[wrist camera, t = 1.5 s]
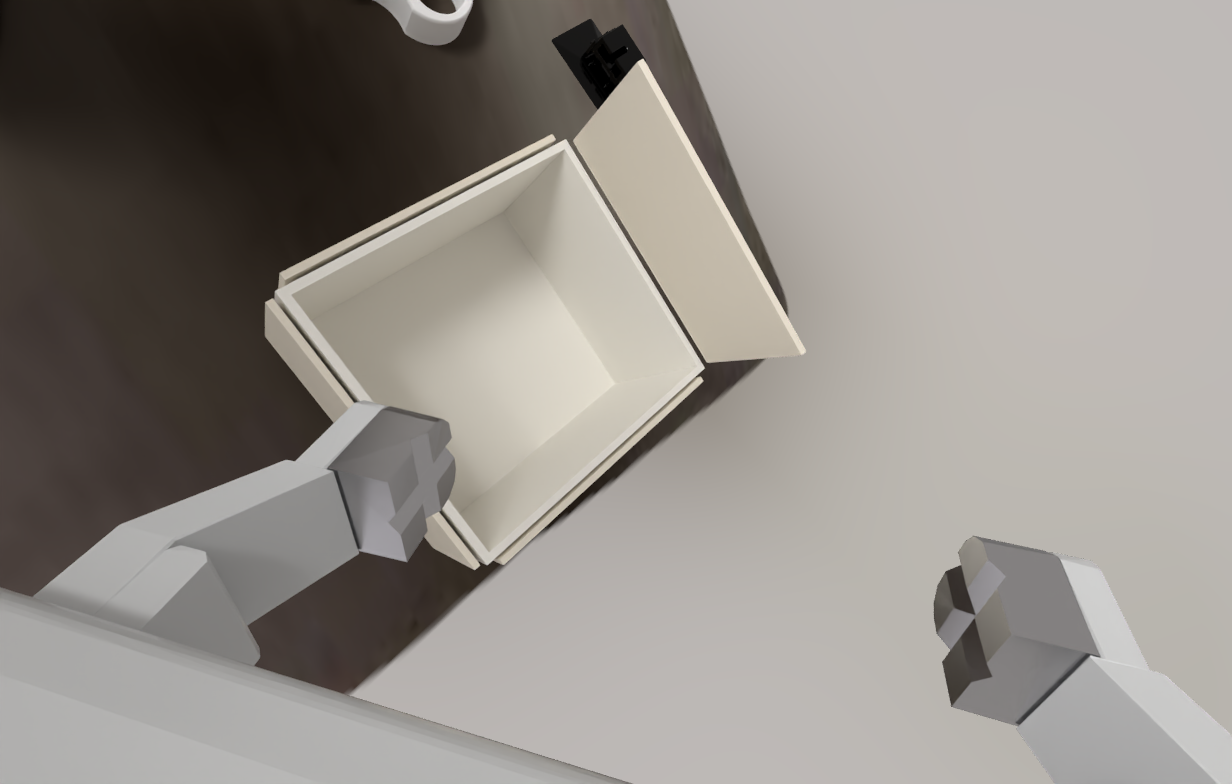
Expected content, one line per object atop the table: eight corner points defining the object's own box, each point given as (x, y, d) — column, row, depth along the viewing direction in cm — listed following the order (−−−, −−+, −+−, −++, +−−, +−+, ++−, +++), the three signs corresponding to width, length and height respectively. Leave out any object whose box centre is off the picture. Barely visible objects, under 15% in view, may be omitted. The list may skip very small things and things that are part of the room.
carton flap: (637, 61, 29) (643, 58, 29) (572, 140, 38) (577, 138, 38) (801, 355, 33) (806, 351, 33) (707, 362, 42) (710, 359, 42)
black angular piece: (531, 31, 53) (552, -4, 49) (585, 1, 56) (609, -33, 52) (615, 153, 56) (641, 129, 52) (661, 118, 59) (689, 94, 55)
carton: (256, 331, 39) (253, 286, 29) (497, 199, 49) (560, 130, 39) (432, 553, 44) (485, 582, 33) (623, 391, 53) (709, 375, 43)
